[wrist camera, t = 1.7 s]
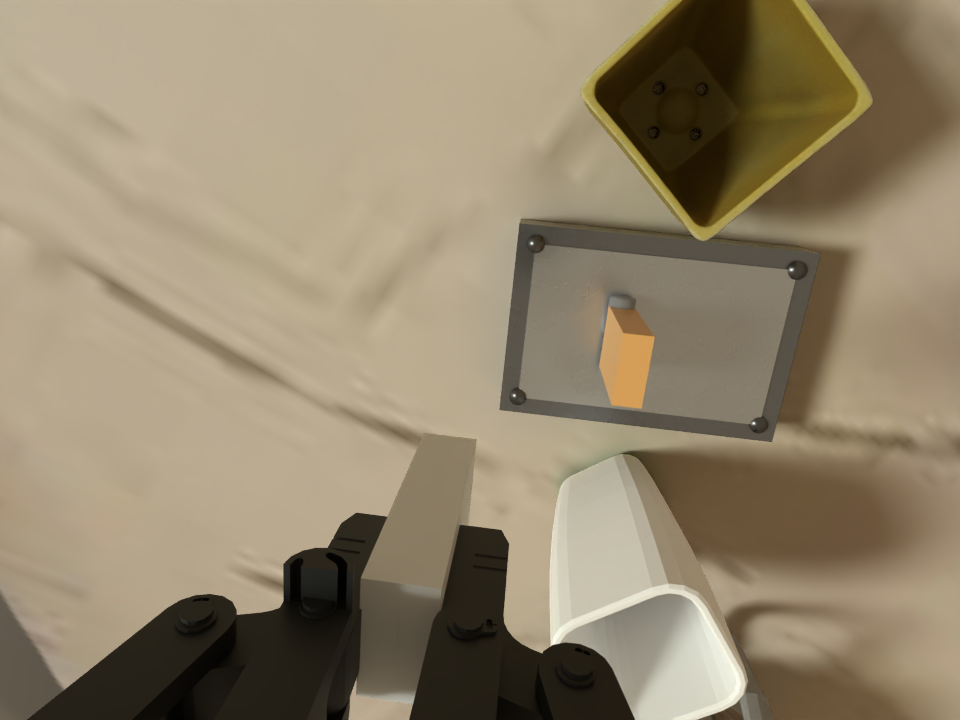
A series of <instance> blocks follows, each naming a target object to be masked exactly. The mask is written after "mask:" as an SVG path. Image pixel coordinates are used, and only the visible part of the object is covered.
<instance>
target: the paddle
mask: <svg viewBox="0 0 960 720" xmlns="http://www.w3.org/2000/svg"><path fill="white" fill-rule="evenodd" d="M635 305H636V299H635V298H632V297H628V296H621V295H612V296H610V300H609V306H608V312H607V319H606V325H605V332H604V338H603V344H602V351H601V357H600V363H599V370H598V374H599V375H600V376H602V377H603V380H604V383H605V386H606V389H607V393H608V396H609V399H610V402H611V405H614V406H623V407H631V408H640V409H642V404H643V398H644V393H645V388H646V382H647V377H648V371H649V366H650V360H651V355H652V349H653V344H654V339H655V336H654V335H653V333H652V332H651V330H650V329H649V327H648V326H647V325H646V323H645V322H644V320H643V319H642V317H641V316H640V314H639V313H638V312H637V310H636V309H635Z"/></svg>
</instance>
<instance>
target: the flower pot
mask: <svg viewBox="0 0 960 720" xmlns="http://www.w3.org/2000/svg"><path fill="white" fill-rule="evenodd" d="M657 83H662V84H663V85H664V91H663V92H662V93H660V94H657V93H655V92H654V86H655V84H657ZM700 84H704V85H706V88H707V91H706V93H705V94H704V95H698V94H697V92H696V89H697V86H698V85H700ZM581 96H582V98H583V100H584V103H585V105H586V107H587V108H588V110H589V111H590V113H591V114H592V115H593V116H594V117H595V118H596V120H597V121H598V122H599V123H600V124H601V125H602V126H603V128H604V129H605V130H606V131H607V132H608V134H609V135H610V136H611V137H612V138H613V140H614V141H615V142H616V143H617V144H618V146H619V147H620V148H621V149H622V150H623V152H624V153H625V154H626V155H627V157H628V158H629V159H630V160H631V162H632V163H633V164H634V165H635V167H636V168H637V169H638V170H639V172H640V173H641V174H642V175H643V177H644V178H645V179H646V181H647V182H648V183H649V184H650V186H651V187H652V188H653V189H654V191H655V192H656V193H657V195H658V196H659V197H660V198H661V200H662V201H663V202H664V203H665V205H666V206H667V207H668V209H669V210H670V211H671V213H672V214H673V215H674V216H675V217H676V218H677V219H678V220H679V221H680V222H681V223H682V224H683V225H684V226H685V228H686V229H687V230H688V231H689V232H690V233H691V234H692V235H693V236H694V237H695V238H696V239H698V240H701V241H707V240H709V239H710V238H712V237H713V236H714V235H716V234H717V233H718V232H719V231H721V230H722V229H723V228H724V227H725V226H726V225H727V224H729V223H730V222H731V221H732V220H734V219H735V218H736V217H737V216H738V215H740V214H741V213H742V212H744V211H745V210H746V209H747V208H748V207H749V206H751V205H752V204H753V203H754V202H755V201H757V200H758V199H759V198H760V197H761V196H763V195H764V194H765V193H766V192H768V191H769V190H770V189H771V188H773V187H774V186H775V185H776V184H777V183H779V182H780V181H781V180H782V179H784V178H785V177H786V176H787V175H788V174H790V173H791V172H792V171H793V170H795V169H796V168H797V167H799V166H800V165H801V164H802V163H804V162H805V161H806V160H807V159H808V158H809V157H811V156H812V155H813V154H814V153H816V152H817V151H818V150H819V149H821V148H822V147H823V146H824V145H826V144H827V143H828V142H830V141H831V140H832V139H833V138H834V137H836V136H837V135H838V134H839V133H840V132H842V131H843V130H844V129H845V128H847V127H848V126H849V125H851V124H852V123H853V122H854V121H855V120H857V119H858V118H859V117H860V116H861V115H862V114H863V113H864V112H866V111H867V110H868V109H869V108H870V106H871V105H872V104H873V98H872V95H871V92H870V90H869V88H868V87H867V85H866V83H865V82H864V80H863V79H862V78H861V76H860V75H859V73H858V72H857V70H856V69H855V68H854V66H853V65H852V63H851V62H850V60H849V59H848V58H847V56H846V55H845V53H844V52H843V51H842V49H841V48H840V47H839V45H838V44H837V42H836V41H835V40H834V38H833V37H832V35H831V34H830V33H829V31H828V30H827V28H826V27H825V25H824V24H823V22H822V21H821V20H820V18H819V17H818V15H817V14H816V13H815V11H814V10H813V9H812V7H811V6H810V5H809V3H808V2H807V0H669V1H668V2H667V3H666V4H665V5H664V6H663V7H662V8H661V9H660V10H659V11H658V12H656V13H655V14H654V15H653V16H652V17H651V18H650V19H649V20H648V21H647V22H646V23H645V24H644V25H643V26H642V27H641V28H640V29H639V30H638V31H636V32H635V33H634V34H633V35H632V36H631V37H630V38H629V39H628V40H627V41H626V42H625V43H624V44H623V45H622V46H621V47H619V48H618V49H617V50H616V51H615V52H614V53H613V54H612V55H611V56H610V57H609V58H608V59H606V60H605V61H604V62H603V63H602V64H601V65H600V66H599V67H598V68H597V69H596V70H595V71H594V72H593V73H592V74H591V75H590V76H589V77H588V78H587V79H586V80H585V82H584V83H583V84H582V87H581ZM652 127H656V128H657V129H658V131H659V133H658V135H657V136H656V137H655V138H651V137H649V135H648V132H649V129H650V128H652ZM693 129H697V130H699V131H700V136H699V138H698V139H696V140H693V139H691V138H690V132H691V131H692V130H693Z"/></svg>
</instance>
